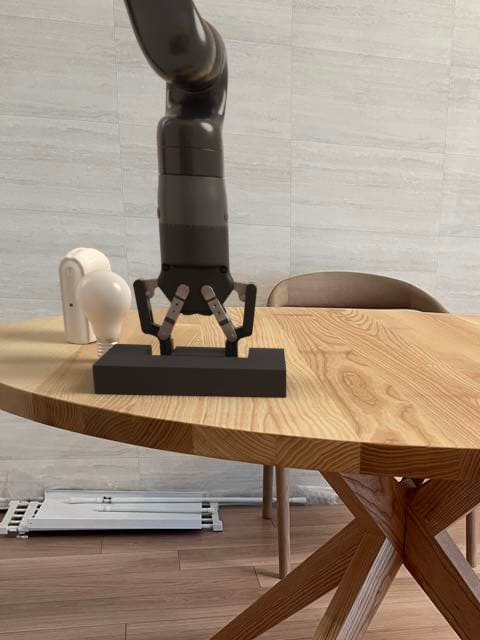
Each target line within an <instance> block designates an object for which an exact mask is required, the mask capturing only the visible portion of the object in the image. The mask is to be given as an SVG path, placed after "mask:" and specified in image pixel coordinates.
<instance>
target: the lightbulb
mask: <svg viewBox="0 0 480 640" xmlns="http://www.w3.org/2000/svg"><path fill="white" fill-rule="evenodd" d="M76 297H77V302H78V305H79V307H80V309H81V310H82V312H83V313H84V315H85V316H86V317H87V319H88V320H89V322H90V323H91V326H92V330H93V333H94V335H95V336H96V341H95V342H96V345H97V346H96V348H97V350H96V352H97V357H98V358H99V359H100V358H101V357H102V356H103V355H104V354H105V353H106V352H107V351H108V350H109V349H110V348H111V347H112V346H113V345H114V344H120V336H121V333H122V327H123V323H124V320H125V318H126V317H127V315H128V314H129V312H130V310H131V307H132V303H133V302H132V301H133V298H132V292H131V288H130V286H129V285H128V283H127V282H126V280H125V279H124V278H123V277H122V276H121V275H120V274H118V273H116V272H114V271H112V270H111V271H109V270H103V269H99V270H94V271H91V272H89V273H87V274H86V275H84V276H83V277H82V279H81V280H80V282H79V283H78V286H77V290H76Z"/></svg>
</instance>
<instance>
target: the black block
mask: <svg viewBox="0 0 480 640" xmlns="http://www.w3.org/2000/svg"><path fill="white" fill-rule="evenodd" d="M171 356H209V357H226V356H225V347H222V346H221V347H220V346H189V345H188V346H185V345H184V346H183V345H181V346H180V345H176V346H174V350H173V352H172V353H171Z"/></svg>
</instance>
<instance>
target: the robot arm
mask: <svg viewBox="0 0 480 640" xmlns="http://www.w3.org/2000/svg"><path fill="white" fill-rule="evenodd" d="M122 1H123V4H124V7H125V10H126V13H127V16H128V19H129V23H130V25H131V28H132V32H133V34H134V37H135V40H136V43H137V44H138V47H139V49H140V51H141V53H142V55H143V57H144V58H145V61H146V62H147V64H148V65H149V67H150V68H151V69H152V71H153V72H154V74H156V75H157V76H158V77H159V78H160V79H161V80H163V81H164V82H165V111H164V115H163V116H162V117H160V119H159V121H158V122H157V125H156V133H155V135H156V136H155V137H156V138H155V139H156V154H157V155H156V156H157V172H158V175H157V177H158V179H157V180H158V181H157V197H156V199H157V202H156V203H157V207H156V216H157V219H158V232H159V234H158V235H159V236H158V237H159V253H160V265H161V266H160V272H159V274H158V276H157V278H155V277H154V278H145V279H144V277H139V278H137V279H135V280H134V281H133V283H132V288H133V293H134V298H135V303H136V304H135V305H136V309H137V313H138V319H139V324H140V325H139V326H140V331H141V332H142V333H143V334H145V335H150V336H152V337H155V338H156V339H157V340H158V343H159V355H171V353H172V352H173V350H174V349H175V345H174V344H175V343H174V338H173V337H172V333H173V330H174V327H175V326H176V324H177V322H178V320H179V318H180V315H182V316H192V315H200V316H203V317H211V316H214V318H215V320H216V322H217V324H218V326H219V327H220V328H221V330H222V332H223V334H224V336H225V338H226V339H225V340H224V346H225V356H226V357H239V341H240V340H241V339H244V338H249V337H251V336H252V335H253V331H254V323H255V313H256V312H255V311H256V304H257V293H258V285H257V284H256V282H254V281H250V282H242V281H236V280H234V278H233V276H232V274H231V269H230V238H229V237H230V236H229V205H228V195H227V188H226V179H225V152H224V151H225V147H224V136H223V133H224V132H223V131H224V130H223V129H224V123H225V116H226V110H227V109H226V108H227V100H228V89H229V60H228V52H227V48H226V44H225V42H224V40H223V38H222V35H221V34H220V32H219V31H218V29H216V28H215V26H213V25H212V24H211V23H210V22H209V21H207V20H206V19H205V18H203V17H202V15H201V14H200V12H199V10H198V8H197V6H196V4H195V2H194V0H122ZM157 288H159V290H160V291H161V292H162V293H163V295H164V296H165V298H166V299H167V300H168V301H169V303H170V306H169V308H168V309H167V311H166V314H165V316H164V319H163V321H162V323H161V324H159V323H156V322H155V319H154V313H153V309H152V302H151V299H153V297H155V295H156V289H157ZM233 291H235V292H236V293H237V296H238V300H239V301H240V302H242V303H244V306H243V307H244V309H243V316H242V317H243V319H242V325H240V326H237V327H236V326H235V325H234V323H233V320H232V319H231V317H230V314H229V312H228V311H227V308H226V306H225V305H224V304H225V303H226V301H227V299H228V298H229V297H230V295H231V294H232V292H233Z"/></svg>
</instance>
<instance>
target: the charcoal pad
mask: <svg viewBox="0 0 480 640" xmlns="http://www.w3.org/2000/svg"><path fill="white" fill-rule="evenodd" d="M91 367H92V368H91V369H92V378H93V392H94V394H96V395H98V394H100V395H101V394H102V395H143V396H144V395H150V396H152V395H153V396H196V397H197V396H202V397H203V396H204V397H205V396H206V397H253V398H254V397H256V398H260V397H261V398H287V362H286V354H285V348H281V347H280V348H278V347H248V353H247V357H244V356H243V357H239V356H238V357H209V356H171V355H160V354H153V346H152V344H138V343H136V344H135V343H119V344H114V345H113V346H112V347H111V348H110V349H109V350H108V351H107V352H106V353H105V354H104V355H103V356H102V357H101V358H100V357H99V358H98V359H97V360H96V361H95V362H94V363H93V364H92V366H91Z"/></svg>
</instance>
